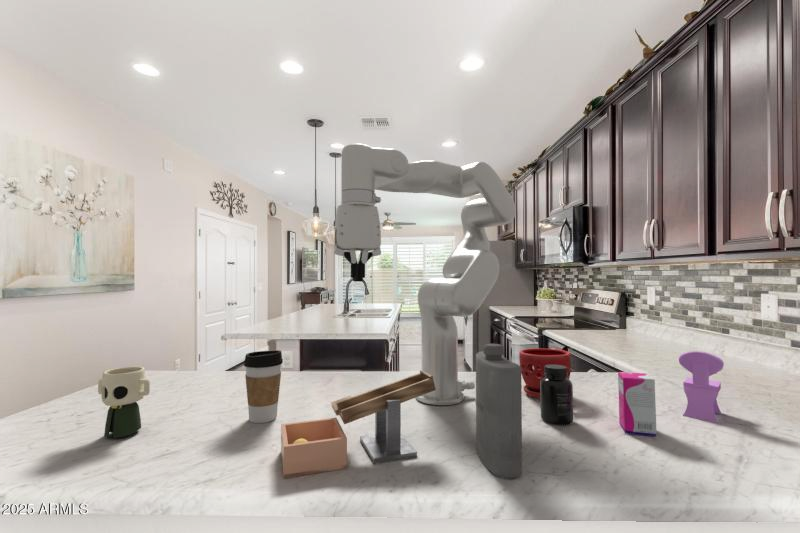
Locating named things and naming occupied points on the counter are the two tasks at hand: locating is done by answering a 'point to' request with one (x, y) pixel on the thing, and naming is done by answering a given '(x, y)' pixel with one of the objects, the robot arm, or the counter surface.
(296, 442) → the ball
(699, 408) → the toy chair
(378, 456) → the pivot stand
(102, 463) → the counter surface
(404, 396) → the lever
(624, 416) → the supplement box
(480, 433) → the flask
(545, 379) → the supplement bottle
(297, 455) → the pink open box
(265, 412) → the coffee cup
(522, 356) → the plant pot
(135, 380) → the character mug
